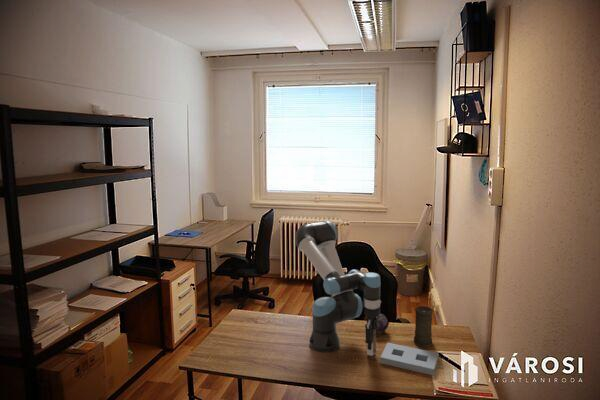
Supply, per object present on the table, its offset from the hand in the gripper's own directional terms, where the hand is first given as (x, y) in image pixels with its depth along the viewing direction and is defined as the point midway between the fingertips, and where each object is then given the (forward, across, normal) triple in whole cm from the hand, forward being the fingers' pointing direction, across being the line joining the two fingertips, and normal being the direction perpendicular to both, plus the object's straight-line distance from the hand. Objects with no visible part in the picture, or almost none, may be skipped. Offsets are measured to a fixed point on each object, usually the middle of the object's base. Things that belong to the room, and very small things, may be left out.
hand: (371, 352), depth 196 cm
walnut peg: (+3, 0, 0) cm, 3 cm away
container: (+3, +23, -20) cm, 31 cm away
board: (+3, +4, -17) cm, 18 cm away
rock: (+3, +26, +3) cm, 26 cm away
